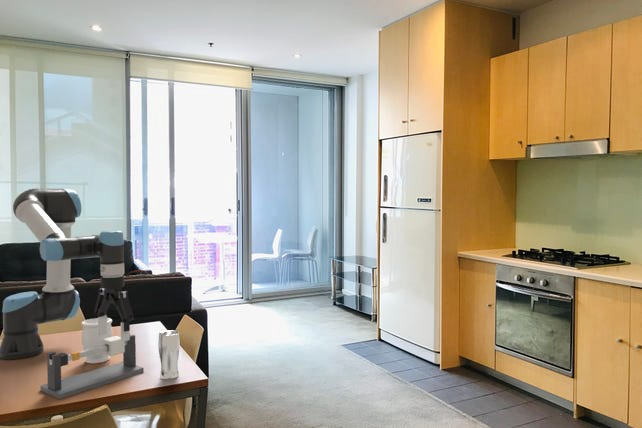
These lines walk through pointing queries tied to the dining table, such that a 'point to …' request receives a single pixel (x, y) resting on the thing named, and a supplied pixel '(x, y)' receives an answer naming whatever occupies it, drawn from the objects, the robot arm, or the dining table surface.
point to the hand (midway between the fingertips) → (113, 337)
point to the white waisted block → (169, 353)
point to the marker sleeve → (114, 346)
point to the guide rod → (82, 354)
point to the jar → (95, 339)
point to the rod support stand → (89, 374)
